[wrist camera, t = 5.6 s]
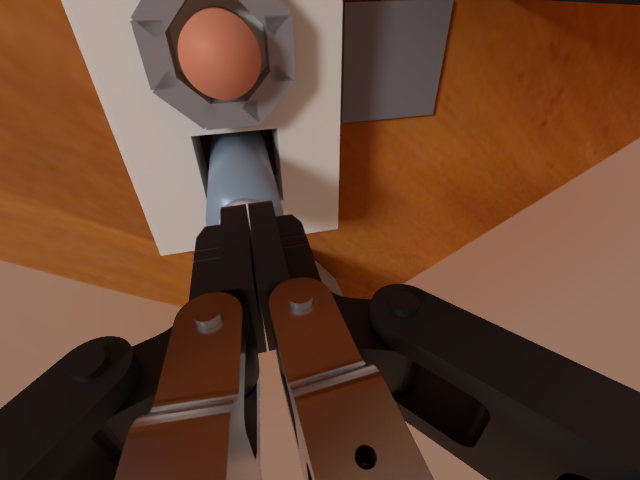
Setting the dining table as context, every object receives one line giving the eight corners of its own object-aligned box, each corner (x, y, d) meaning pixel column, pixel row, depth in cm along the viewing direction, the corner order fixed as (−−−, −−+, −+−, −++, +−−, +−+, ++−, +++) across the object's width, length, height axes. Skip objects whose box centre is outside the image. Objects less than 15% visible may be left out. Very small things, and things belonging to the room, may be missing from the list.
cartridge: (205, 123, 29) (196, 200, 19) (262, 117, 29) (282, 189, 19) (216, 174, 32) (214, 265, 22) (268, 168, 32) (289, 253, 22)
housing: (76, -39, 21) (26, -47, 16) (323, -41, 24) (354, -48, 19) (167, 223, 33) (157, 270, 28) (325, 202, 36) (343, 241, 31)
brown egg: (174, 7, 20) (167, 11, 17) (250, 5, 20) (255, 8, 18) (192, 88, 22) (189, 102, 20) (259, 83, 23) (265, 96, 20)
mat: (343, 2, 26) (345, 2, 25) (450, -2, 27) (454, -1, 27) (340, 121, 31) (342, 123, 31) (430, 112, 33) (432, 114, 32)
